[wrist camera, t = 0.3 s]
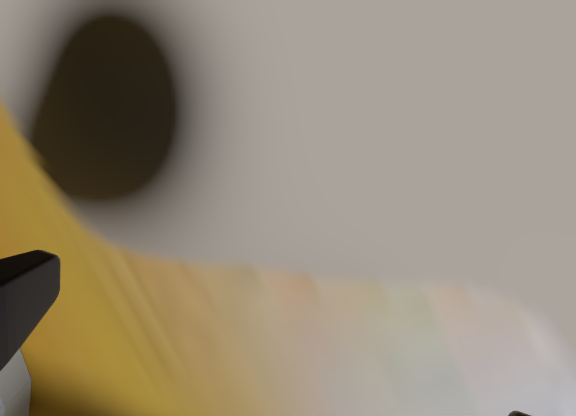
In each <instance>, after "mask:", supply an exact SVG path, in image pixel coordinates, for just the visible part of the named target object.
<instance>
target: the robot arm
mask: <svg viewBox="0 0 576 416" xmlns="http://www.w3.org/2000/svg"><path fill="white" fill-rule="evenodd" d="M59 291H60V259H59V257H58V256H57V255H55V254H52V253H49V252H46V251H43V250H34V251H30V252H26V253H22V254H18V255H15V256H11V257H7V258H3V259H0V371H1V370H2V369H3V368H4V367H5V366H6V365H7V363H8V362H9V361H10V360H11V359H12V357H13V356H14V355H15V354H16V352H17V351H18V350H19V348H20V347H21V346H22V344H23V343H24V342H25V340H26V339H27V338H28V336H29V335H30V334H31V332H32V331H33V330H34V328H35V327H36V326H37V324H38V323H39V322H40V320H41V319H42V318H43V316H44V315H45V314H46V312H47V311H48V310H49V308H50V307H51V306H52V304H53V303H54V302H55V300H56V298H57V297H58V294H59ZM508 416H531V415H528V414H525V413H522V412H519V411H512V412H511V413H510V414H509V415H508Z"/></svg>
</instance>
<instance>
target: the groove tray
mask: <svg viewBox="0 0 576 416" xmlns="http://www.w3.org/2000/svg"><path fill="white" fill-rule="evenodd" d="M31 383H32V380H31V377H30V374H29V372H28V369H27V366H26V363H25V361H24V358H23V355H22V353H21V350H20V348H19V350H18V351H17V352H16V354H15V355H14V356H13V357H12V359H11V360H10V361H9V362H8V363H7V365H6V366H5V367H4V368H3V369H2V370H1V371H0V416H29V409H30V396H31Z"/></svg>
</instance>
